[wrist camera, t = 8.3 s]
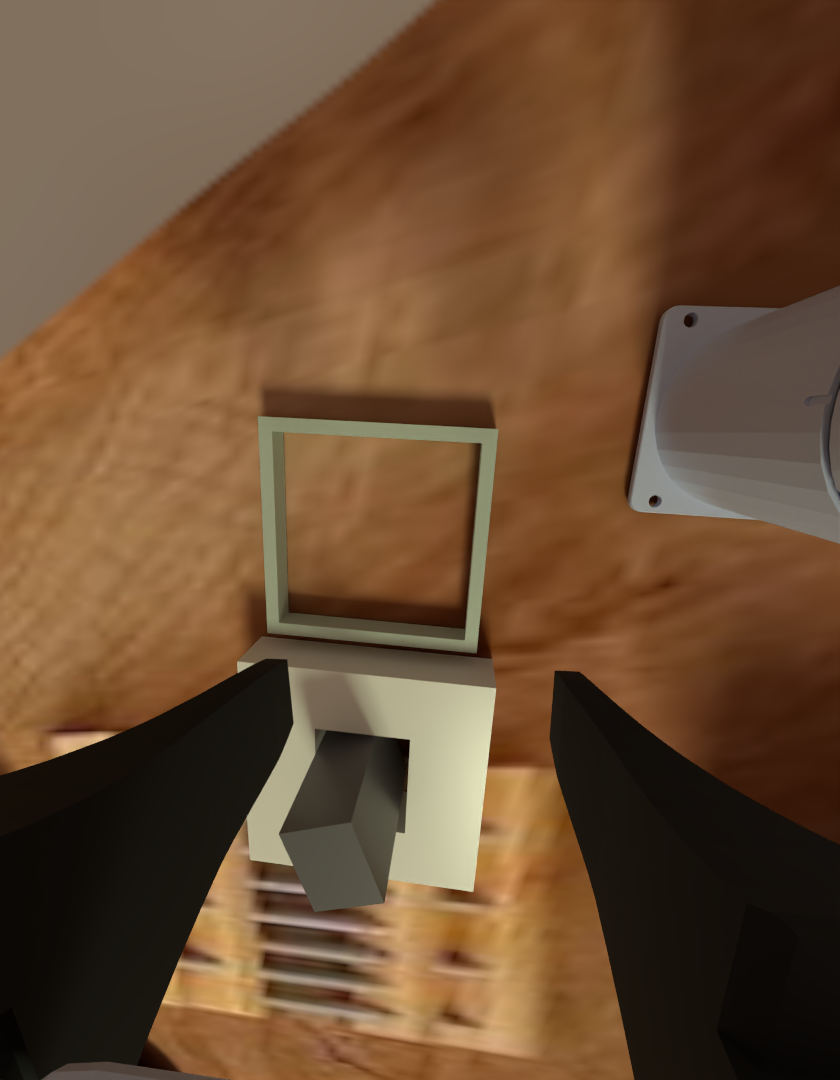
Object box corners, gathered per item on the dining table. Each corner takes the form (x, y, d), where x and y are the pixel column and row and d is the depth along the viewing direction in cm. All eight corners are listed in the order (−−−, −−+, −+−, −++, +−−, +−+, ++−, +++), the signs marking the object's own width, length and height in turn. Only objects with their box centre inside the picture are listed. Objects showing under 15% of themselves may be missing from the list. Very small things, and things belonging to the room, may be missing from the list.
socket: (492, 659, 21) (496, 688, 19) (472, 845, 24) (473, 891, 22) (261, 636, 22) (237, 661, 20) (270, 818, 25) (250, 859, 23)
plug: (384, 704, 22) (350, 822, 16) (407, 766, 23) (384, 903, 16) (332, 715, 23) (278, 834, 16) (356, 775, 24) (314, 911, 17)
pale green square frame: (496, 429, 18) (498, 428, 17) (475, 640, 21) (476, 653, 20) (270, 417, 19) (257, 416, 18) (277, 622, 22) (267, 632, 21)
